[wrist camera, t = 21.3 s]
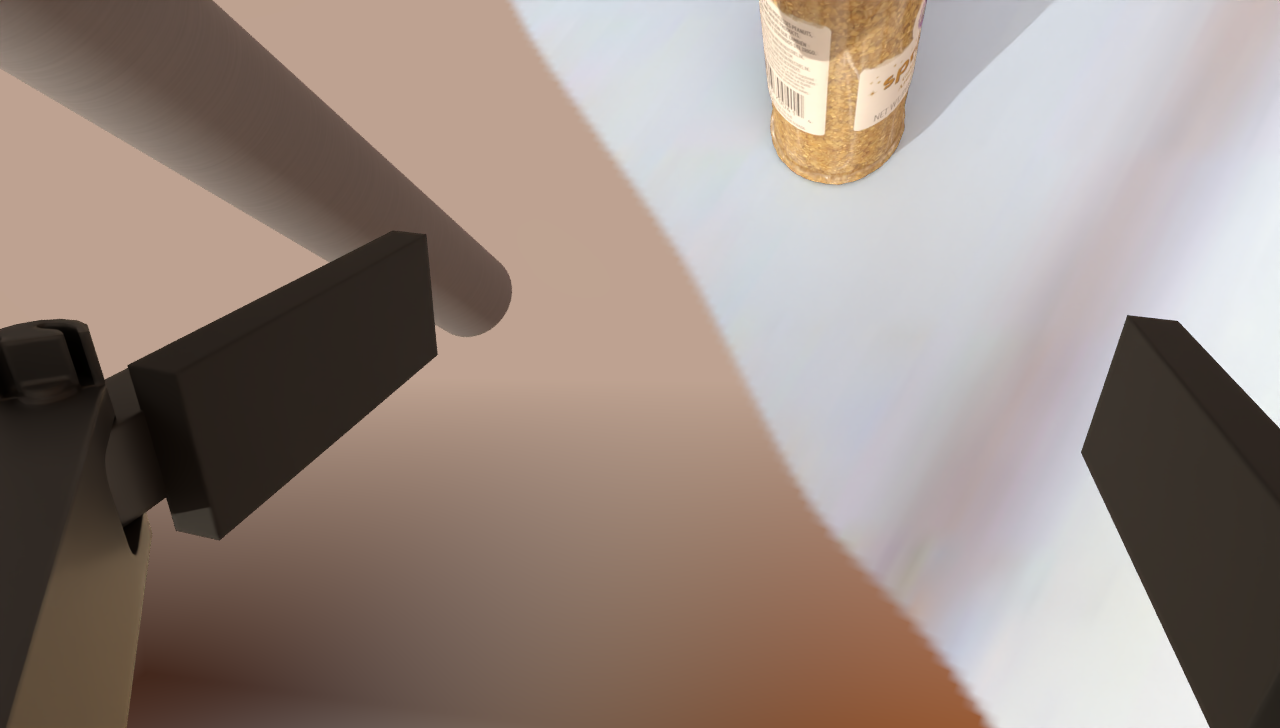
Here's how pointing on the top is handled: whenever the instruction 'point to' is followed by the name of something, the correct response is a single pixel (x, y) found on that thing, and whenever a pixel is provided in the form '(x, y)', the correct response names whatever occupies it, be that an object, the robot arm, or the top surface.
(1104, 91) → the top surface
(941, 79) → the top surface
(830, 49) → the sprinkles bottle
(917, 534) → the top surface
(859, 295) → the top surface
